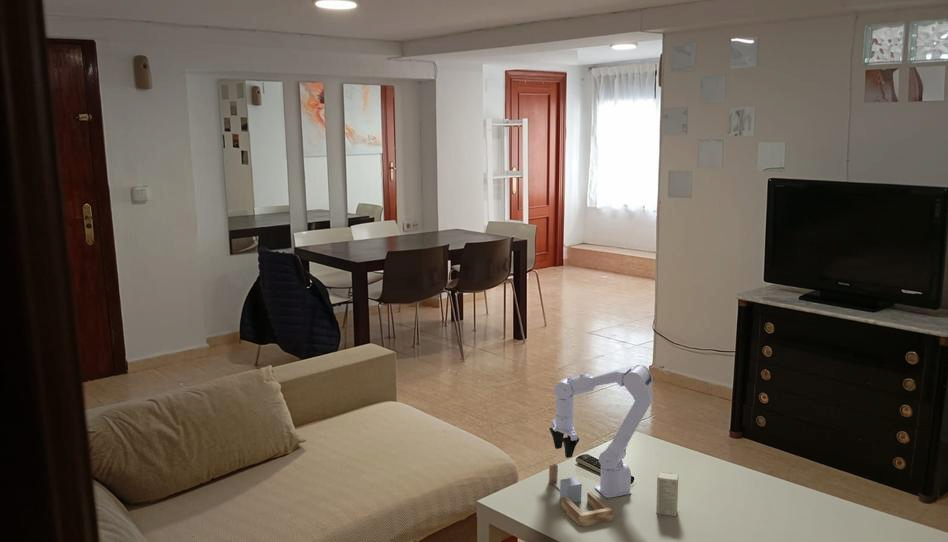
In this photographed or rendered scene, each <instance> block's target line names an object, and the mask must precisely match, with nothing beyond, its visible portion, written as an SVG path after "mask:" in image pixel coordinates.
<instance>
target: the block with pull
mask: <svg viewBox="0 0 948 542" xmlns="http://www.w3.org/2000/svg"><path fill="white" fill-rule="evenodd" d="M548 466H549V467H548V468H549V471H548V483H549V484H550V485H553V487H555V488H556V489H557V490H558V491H559V497H561V498H560V499H562V497H567V498H568V499H569V500H571V501H572V502H573V503H574V504H575V503H580V502H582V486H583V484H582V483H581V482H580V481H579V480H578V479H577V478H576V477H575V476H574V477H573V476H572V477H570V478H569V477H568V478H562V479H560V481H559V483H560V484H559V483H558V464H555V463H551V464H549V465H548Z"/></svg>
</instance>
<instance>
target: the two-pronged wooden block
mask: <svg viewBox="0 0 948 542" xmlns="http://www.w3.org/2000/svg"><path fill="white" fill-rule="evenodd" d="M586 495H587V497H586V500H587V501H586V503H587V504H588V506H590V507H591V508H592V509H593V510H590V511H586V512H583V511H582V510H581V509H580V508H579V506H577V505H576V504H575V503H573V502H572V501H571V500H569V499H568V498H567V497H562V498H561V507H562V508H561V507H560V508H561V509H562V510H563V511H564V510H565V511H566V512H567V513H568V514H569V515H570V516H571V517H570V516H569V515H568V514H567V513H566V512H565V511H564V512H565V513H566V514H567V515H568V516H569V517H570V518H571V519H572V520H573V521H574V522H576V524H578V526H580V527H581V526H582V527H586V525H587V526H591V525H596V524H601V523H607V522H611V520H612V521H613V512H614V511H613V508H611V507H610V506H609V505H608V504H607V503H606V502H604V501H603V500H602V499H601V498H600V497H598V495H596V494H595V493H594V492H593V491H587V494H586ZM606 521H607V522H606Z"/></svg>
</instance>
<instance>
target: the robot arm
mask: <svg viewBox="0 0 948 542" xmlns="http://www.w3.org/2000/svg"><path fill="white" fill-rule="evenodd" d="M653 381H654V377H653V375H652V373H651V371H650V369H649V368H648V367H647V366H646V365H643V364H636V365H635V366H633V365H629V366H625V367H621V368H618V369H614V370H611V371H607V372H603V373H601V374H597V375H592V374H590V373H585V372H582V373H580V374H579V376H574V377H571V376H568V377H567V378H563V379H561V380H560V381H559V382H557V383H556V384H555V385H554V388H553V392H554V394H555V397H556V401H555V402H556V403H555V404H556V407H555V408H556V409H555V418H554V419H551V426H552V427H549V431H550V433H551V437H552V440H553V445H554V448H555V450H559V449H562V447H564V454H565V455H564V456H565V458H566V459H568V458H573V454H574V451H575V448H576V446H577V444H578V443H579V442H580V438H579V437H578V434H577V433H576V430H575V428H574V404H575V401H574V399H575V398H574V396H576V395H577V396H578V395H582V394H586V393H589V392H593V391H594V390H595V388H596V387H598V386H604V385H610V384H614V383H616V384H617V385H619V386H620V387H625V389H626V390H627V392H628V393H629V394H630V395H631V396H632V398H633V400H634V402H633V404H632V406H631V407H630V409H629V411H628V413H627V414H626V416H625V418H624V419H623V421H622V423H621V425H620V427H619V428H618V430H617V432H616V434H615V436H614V437H613V438H612V439H611V441H610V443H609V444H608V446H607V447H606V448H605V449H604V450H603V451H602V452H601V453H600V454H599V456H598V462H599V464H600V478H599V479H600V480H599V481H600V482H599V483H600V484H599V485H594V486H595V487H594V489H596V490H597V492H599V493H600V494H601V495H602V496H604V498H606V499H611V498H616V497H620V496H625V495H631V494H632V491H631V482H632V481H631V480H632V473H631V468H630V466H629V464H627V463H624V462H623V459H625V456H626V454H627V453H626V451H627V447H628V445H629V442H630V441H631V439H632V438H633V436H634V433H636V431H637V429H638V427H639V425H640V423H641V422H642V420H643V418H644V417H645V415H646V413H647V411H648V410H649V408H650V407H651V404H652V403H653V401H654V397H653V396H654V395H653V394H654V393H653ZM565 435H566V436H565ZM564 436H565V437H564Z"/></svg>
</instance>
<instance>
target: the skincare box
mask: <svg viewBox="0 0 948 542" xmlns="http://www.w3.org/2000/svg"><path fill="white" fill-rule="evenodd" d="M656 478H657V479H656V480H657V482H656V483H657V485H656V511H655V512H656V514H658V515H667V516H672V517H676V516H677V513H678V503H679V502H678V499H679V498H678V497H679V474H677V473H672V472H671V473H670V472H662V471H659V472H658V473H657V476H656Z"/></svg>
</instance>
